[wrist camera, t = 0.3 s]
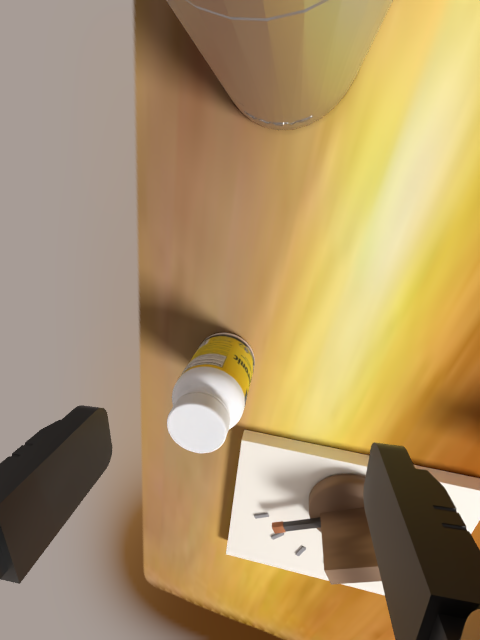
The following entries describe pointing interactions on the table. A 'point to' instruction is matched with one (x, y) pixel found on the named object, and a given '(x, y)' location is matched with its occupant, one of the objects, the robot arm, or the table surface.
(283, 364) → the table surface
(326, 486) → the knob
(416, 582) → the robot arm
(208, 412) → the supplement bottle
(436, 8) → the table surface
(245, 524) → the dial board
